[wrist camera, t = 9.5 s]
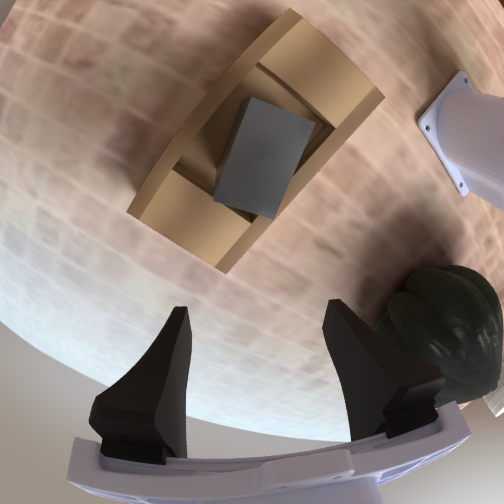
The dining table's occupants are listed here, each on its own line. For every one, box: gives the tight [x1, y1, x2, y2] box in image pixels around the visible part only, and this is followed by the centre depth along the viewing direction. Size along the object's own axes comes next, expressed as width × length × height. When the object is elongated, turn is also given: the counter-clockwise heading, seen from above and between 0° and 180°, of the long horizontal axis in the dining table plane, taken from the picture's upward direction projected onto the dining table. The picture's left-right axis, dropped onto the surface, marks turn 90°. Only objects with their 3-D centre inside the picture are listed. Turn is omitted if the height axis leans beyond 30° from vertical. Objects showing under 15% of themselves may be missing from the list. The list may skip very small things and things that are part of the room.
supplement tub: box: [483, 330, 504, 416], centre depth 29 cm, size 10×10×15 cm
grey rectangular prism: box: [213, 97, 315, 220], centre depth 15 cm, size 3×5×6 cm, turn 159°
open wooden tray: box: [126, 8, 385, 274], centre depth 17 cm, size 8×16×3 cm, turn 141°
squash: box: [374, 265, 503, 408], centre depth 23 cm, size 14×15×15 cm
